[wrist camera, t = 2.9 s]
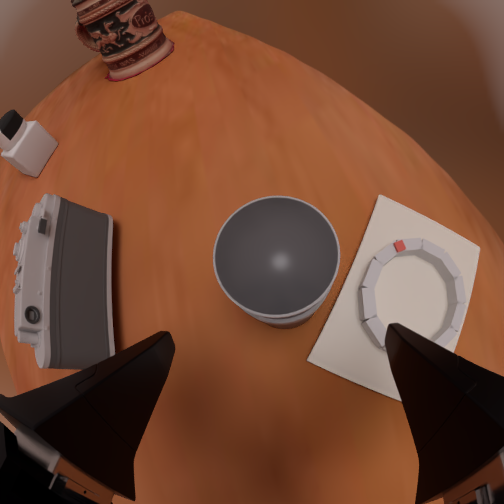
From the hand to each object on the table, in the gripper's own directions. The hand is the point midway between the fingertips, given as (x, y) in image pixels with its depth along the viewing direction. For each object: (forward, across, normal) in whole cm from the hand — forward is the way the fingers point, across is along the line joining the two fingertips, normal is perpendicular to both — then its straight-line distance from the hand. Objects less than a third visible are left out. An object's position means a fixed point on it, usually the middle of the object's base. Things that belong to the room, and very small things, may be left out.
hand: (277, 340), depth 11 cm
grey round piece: (+11, 0, -6) cm, 12 cm away
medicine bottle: (+28, -41, +11) cm, 51 cm away
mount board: (+10, +11, -7) cm, 16 cm away
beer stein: (+44, -26, +27) cm, 58 cm away
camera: (+12, -19, -6) cm, 23 cm away
